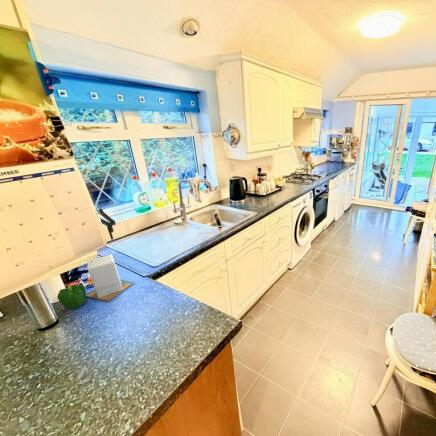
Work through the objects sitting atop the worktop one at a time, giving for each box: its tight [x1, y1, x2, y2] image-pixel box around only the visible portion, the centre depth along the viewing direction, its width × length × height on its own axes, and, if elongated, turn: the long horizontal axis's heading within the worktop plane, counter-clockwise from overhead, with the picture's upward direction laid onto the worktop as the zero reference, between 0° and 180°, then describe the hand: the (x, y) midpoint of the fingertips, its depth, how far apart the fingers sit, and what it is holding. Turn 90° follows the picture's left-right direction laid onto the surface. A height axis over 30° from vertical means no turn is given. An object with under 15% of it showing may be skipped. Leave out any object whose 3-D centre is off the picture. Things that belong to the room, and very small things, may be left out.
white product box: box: [87, 254, 124, 298], centre depth 104 cm, size 9×9×15 cm
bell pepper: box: [56, 283, 87, 310], centre depth 96 cm, size 8×8×10 cm
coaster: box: [86, 281, 132, 302], centre depth 107 cm, size 12×12×1 cm
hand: (94, 242), depth 108 cm, fingers open, 13 cm apart
